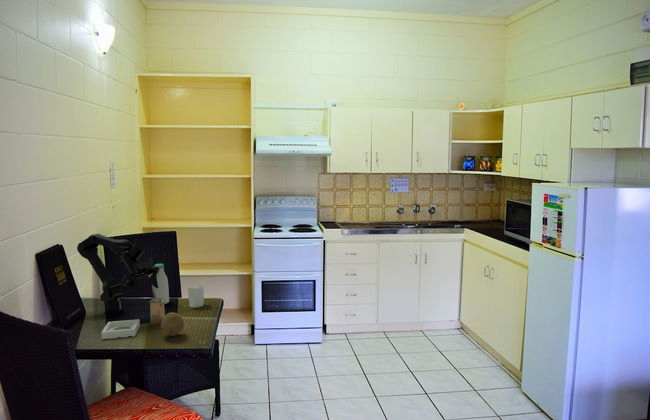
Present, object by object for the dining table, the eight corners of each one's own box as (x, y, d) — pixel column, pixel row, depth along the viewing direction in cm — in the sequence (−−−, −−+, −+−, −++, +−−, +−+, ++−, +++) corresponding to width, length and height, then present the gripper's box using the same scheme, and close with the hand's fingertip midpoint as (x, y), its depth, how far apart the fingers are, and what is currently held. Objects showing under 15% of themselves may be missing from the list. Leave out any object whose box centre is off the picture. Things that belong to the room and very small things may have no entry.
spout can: (148, 323, 226) (146, 299, 224) (159, 319, 231) (157, 296, 229) (160, 326, 221) (158, 302, 220) (170, 322, 226) (169, 298, 225)
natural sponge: (156, 338, 207) (155, 315, 206) (170, 330, 215) (168, 308, 214) (175, 340, 204) (173, 317, 203) (188, 333, 212) (186, 310, 211)
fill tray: (102, 339, 207) (101, 332, 207) (108, 328, 220) (108, 321, 220) (135, 336, 210) (134, 329, 210) (139, 325, 223) (139, 319, 222)
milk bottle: (171, 300, 260) (169, 262, 257) (165, 305, 252) (163, 266, 250) (157, 300, 261) (154, 262, 258) (150, 305, 253) (148, 266, 251)
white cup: (207, 303, 253) (206, 284, 251) (199, 308, 245) (197, 288, 244) (194, 302, 255) (193, 283, 254) (185, 307, 248) (184, 287, 247)
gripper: (125, 257, 222) (143, 286, 219) (156, 249, 238) (174, 276, 235) (113, 271, 227) (130, 299, 224) (145, 262, 243) (161, 289, 240)
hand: (150, 290), depth 230 cm, fingers open, 9 cm apart
